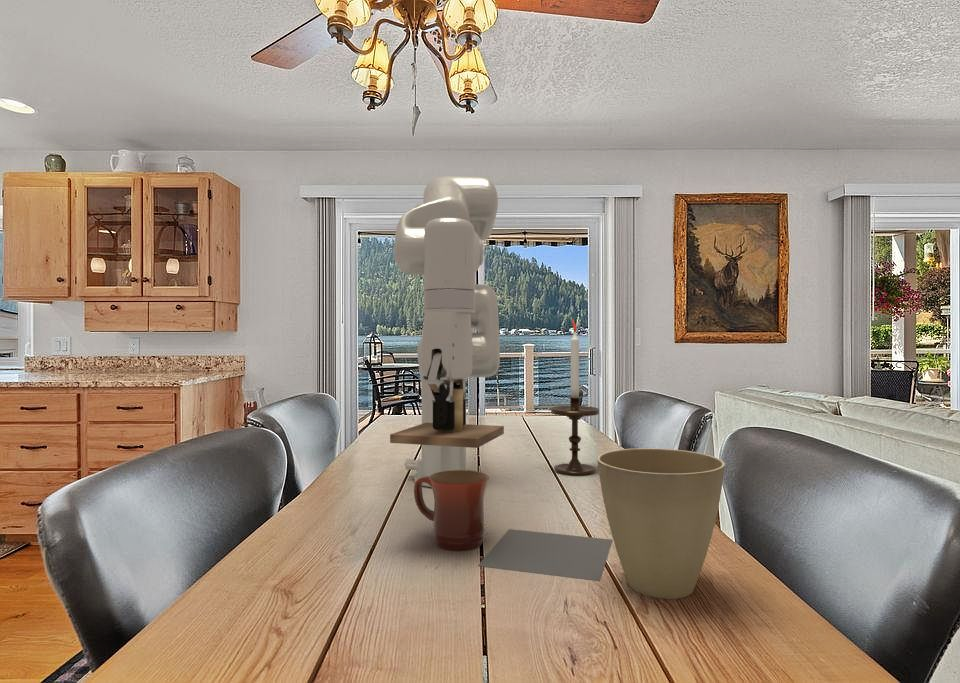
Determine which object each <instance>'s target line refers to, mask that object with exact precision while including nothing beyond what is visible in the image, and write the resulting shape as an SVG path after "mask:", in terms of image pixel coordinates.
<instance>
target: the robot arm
mask: <svg viewBox="0 0 960 683" xmlns="http://www.w3.org/2000/svg"><path fill="white" fill-rule="evenodd" d="M496 188H497V187H496V186H495V183H494V182H492V180H490V179H489V178H487V177H483V176H461V175H459V176H457V175H456V176H455V175H443V176H438V177H436V178H434V179H431V181H429V182H428V183H427V184H426V187H425V188H424V192H423V198H422V199H423V201H422V202H419V203H417V204H416V205H415V206H414V207H413V208H412V209H409V210H408V211H406V212H405V213H404V214H402V216H401V217H400V218H399V220H398V222H397V226H396V228H395V236H394V244H393V255H394V256H393V257H394V262H395V265H396V267H397V268H398V269H399V271H400V272H401V273H403V274H406V275H411V276H423V290H424V291H423V309H424V310H423V313H424V318H423V324H422V336H421V339H420V340H419V342H418V344H417V352H416V353H417V354H416V355H417V362H418V370H419V375H420V387H421V388H420V391H421V392H420V393H421V424H423V423H433V429H435V430H453V429H454V428H455V402H452V396H453V388H455V389H463V426H464V425H465V424H467V387H468V386H467V383H468V380H469V378H488V377H493V376H494V375H496V374H497V373H498V371H499V368H500V363H501V362H500V360H501V356H500V355H501V354H500V353H501V352H500V351H501V348H500V325H499V324H500V323H499V322H500V320H499V305H498V304H499V303H498V298H497V295H496V291H495V289H494V288H493V287H491V286H489V285H486V284H480V283H478V284H475V283H476V281H475V280H476V272H478V270H479V268H480V266H483V262H484V256H485V255H484V254H485V253H484V252H485V251H484V243H483V241H485V240H488V239H489V238H490V237H491V234H492V232H493V228H494V224H495V220H496V216H497V213H498V204H499V196H498V192H497V189H496ZM472 329H474V330H476V331H477V332H473V331H472ZM446 388H447V391H446ZM404 465H405V466H404V467H405V470H407V471H416V474H415V475H414V483H415V482H416V481H417V480H418V479H419V478H421V477H425V476H428V477H429V476H430V475H432V474H434V473H438V472H442V471H452V470H467V447H453V446H435V445H421V458H420V459H417V460H415V459H410V458H409V459H408V458H406V460H405V462H404ZM422 487H428V488H432V487H431V486H430V485H429V484H427V483H424V482H423V484H422Z"/></svg>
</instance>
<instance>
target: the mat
mask: <svg viewBox="0 0 960 683" xmlns="http://www.w3.org/2000/svg"><path fill="white" fill-rule="evenodd" d="M613 542H614V540H613V539H612V538H611V539H609V538H602V537H601V538H600V537H591V536H581V535H572V534H569V535H568V534H561V533H559V534H558V533H553V532H552V533H550V532H541V531H531V530H521V529H520V530H519V529H512V528H509V529H507V531H506V532H505V534H503V535H502V537H501V538H500V539H499V540H498V541H497V543H496V544H495V545H494V546H493V548H492V549H490V551H489V552H488V553H487V554H486V555H485V557H484V558H483V559H482V560H481V561H480V562H479V563H478V564H477V567H481V568H488V569H497V570H498V569H499V570H504V571H505V570H506V571H513V572H521V573H528V574H529V573H530V574H537V575H544V576H545V575H546V576H554V577H560V578H561V577H563V578H570V579H577V580H587V581H593V582H600V581H601V578H602V576H603V572H604V570H605V569H604V568H605V566H606V563H607V559H608V557H609V553H610V550H611V546H612V543H613Z"/></svg>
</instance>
